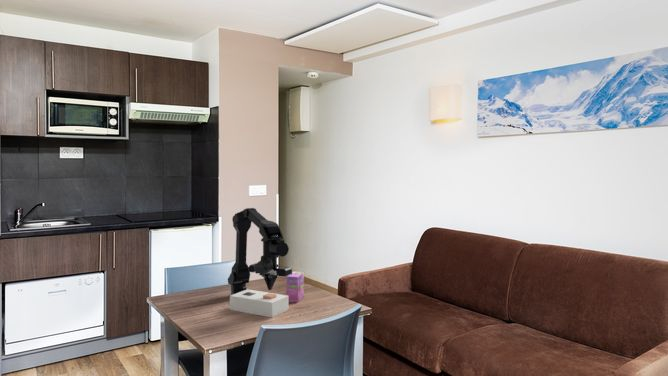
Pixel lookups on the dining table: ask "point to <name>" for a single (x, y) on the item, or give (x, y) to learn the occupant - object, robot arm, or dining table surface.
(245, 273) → the robot arm
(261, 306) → the white rectangular block
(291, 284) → the box
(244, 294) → the metallic grey block
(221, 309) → the dining table surface
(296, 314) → the dining table surface
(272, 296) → the peach square block
